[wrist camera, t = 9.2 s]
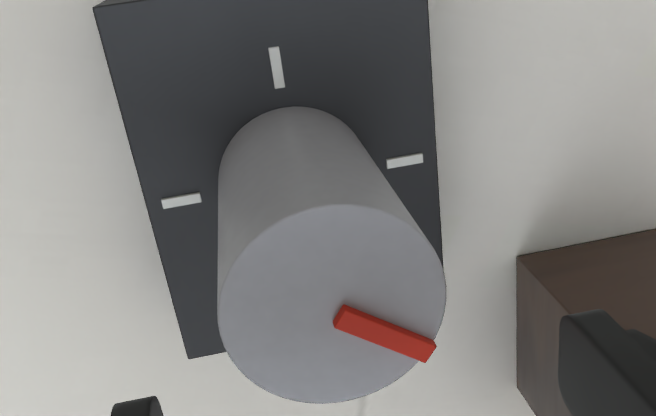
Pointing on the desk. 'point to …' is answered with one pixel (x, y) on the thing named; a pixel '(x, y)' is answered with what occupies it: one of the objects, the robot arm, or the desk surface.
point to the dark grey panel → (261, 110)
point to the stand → (578, 304)
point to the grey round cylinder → (319, 263)
